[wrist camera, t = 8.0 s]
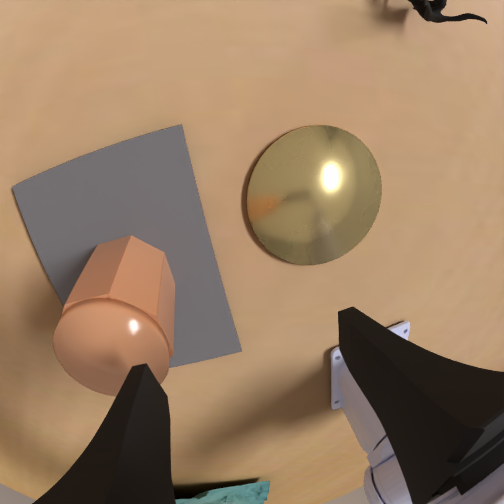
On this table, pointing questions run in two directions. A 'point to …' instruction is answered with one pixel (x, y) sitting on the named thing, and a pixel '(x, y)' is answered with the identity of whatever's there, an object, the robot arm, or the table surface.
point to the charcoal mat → (134, 229)
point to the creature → (439, 11)
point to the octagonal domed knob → (118, 316)
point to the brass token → (314, 194)
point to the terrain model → (232, 495)
